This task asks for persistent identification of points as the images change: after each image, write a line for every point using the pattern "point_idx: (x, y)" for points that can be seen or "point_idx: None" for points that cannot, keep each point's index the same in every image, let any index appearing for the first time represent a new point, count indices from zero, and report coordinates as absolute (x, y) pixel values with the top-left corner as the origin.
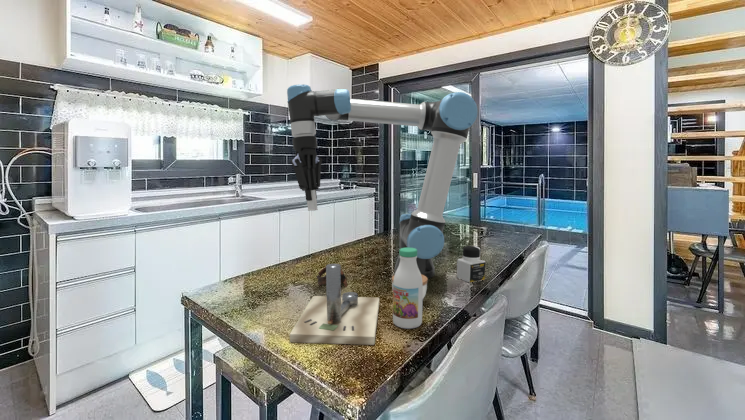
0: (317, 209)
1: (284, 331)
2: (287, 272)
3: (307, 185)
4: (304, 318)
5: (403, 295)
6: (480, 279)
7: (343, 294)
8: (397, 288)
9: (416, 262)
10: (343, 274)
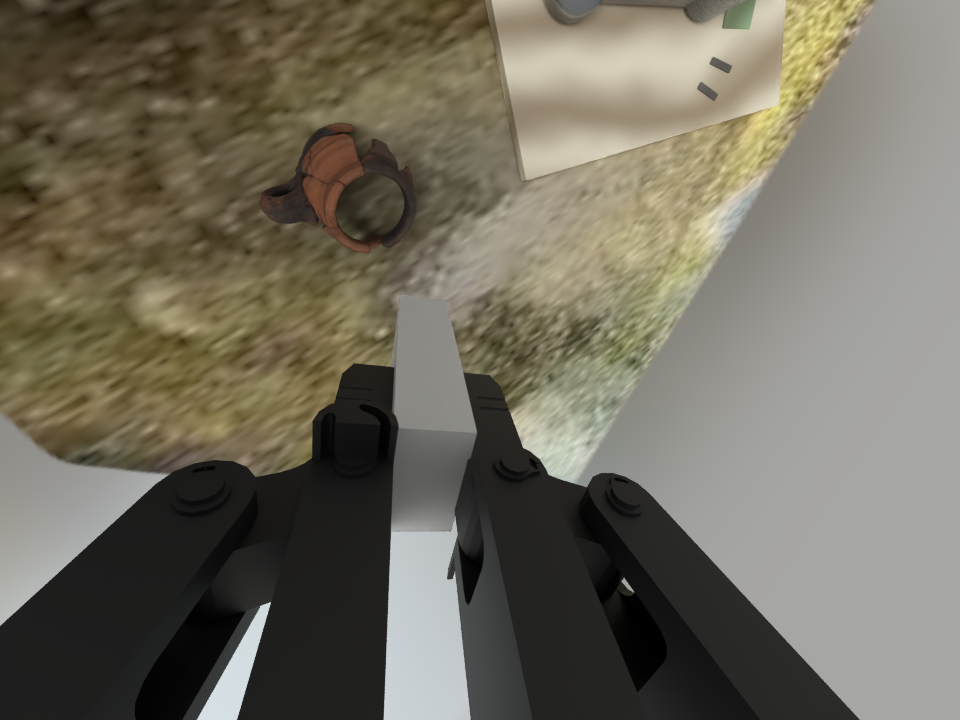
0: (400, 295)
1: (709, 158)
2: (310, 413)
3: (608, 519)
4: (689, 114)
5: None
6: None
7: (586, 5)
8: None
9: None
10: (333, 133)
